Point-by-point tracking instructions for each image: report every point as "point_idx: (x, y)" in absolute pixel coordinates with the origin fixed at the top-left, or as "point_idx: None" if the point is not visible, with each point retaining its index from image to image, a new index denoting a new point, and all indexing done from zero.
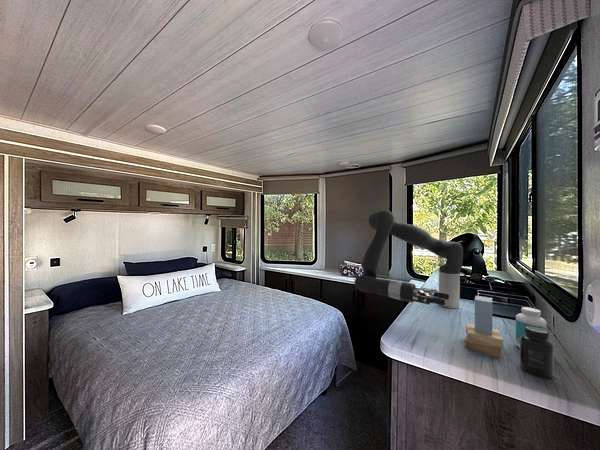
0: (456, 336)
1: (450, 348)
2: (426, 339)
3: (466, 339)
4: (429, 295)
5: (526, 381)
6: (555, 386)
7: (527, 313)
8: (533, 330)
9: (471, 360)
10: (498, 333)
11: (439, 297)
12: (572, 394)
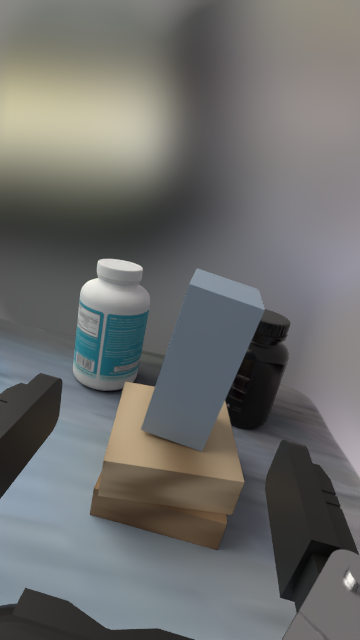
0: (90, 569)
1: None
2: None
3: (213, 516)
4: (311, 605)
5: (311, 443)
6: (280, 407)
7: (136, 281)
8: (286, 322)
9: None
10: None
11: (6, 484)
12: (287, 398)
